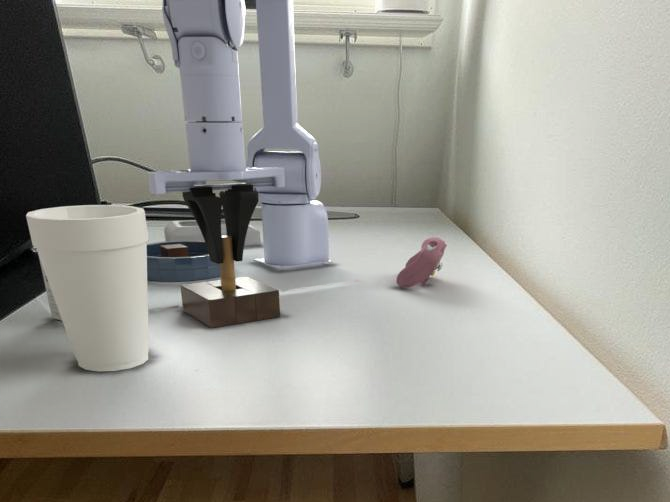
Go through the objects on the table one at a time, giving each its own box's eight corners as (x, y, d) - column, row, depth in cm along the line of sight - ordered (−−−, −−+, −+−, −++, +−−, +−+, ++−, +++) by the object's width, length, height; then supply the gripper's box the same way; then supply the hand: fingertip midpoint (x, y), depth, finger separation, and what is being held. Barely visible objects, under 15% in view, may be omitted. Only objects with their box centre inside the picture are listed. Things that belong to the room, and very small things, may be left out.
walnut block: (182, 264, 98) (180, 243, 96) (190, 268, 96) (187, 246, 94) (162, 267, 96) (159, 245, 95) (170, 270, 94) (167, 248, 93)
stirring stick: (234, 311, 77) (228, 234, 73) (240, 314, 76) (234, 236, 72) (221, 313, 77) (214, 236, 72) (227, 316, 75) (220, 238, 71)
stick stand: (248, 301, 81) (246, 276, 80) (280, 316, 75) (279, 290, 74) (183, 310, 77) (179, 284, 76) (211, 328, 71) (208, 300, 70)
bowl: (209, 261, 103) (206, 237, 101) (247, 277, 93) (245, 251, 91) (121, 271, 96) (117, 246, 94) (152, 289, 86) (148, 262, 84)
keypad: (259, 224, 112) (168, 228, 107) (261, 247, 114) (171, 252, 109) (247, 216, 120) (162, 220, 115) (249, 238, 121) (165, 242, 117)
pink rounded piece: (422, 301, 88) (449, 254, 84) (392, 284, 87) (418, 235, 84) (430, 285, 96) (455, 241, 93) (403, 269, 96) (427, 224, 92)
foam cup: (105, 385, 56) (74, 223, 50) (38, 365, 61) (1, 213, 54) (186, 355, 63) (168, 210, 57) (120, 339, 68) (96, 202, 61)
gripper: (157, 122, 60) (176, 275, 67) (296, 122, 67) (301, 260, 74) (133, 121, 65) (153, 263, 72) (264, 121, 73) (271, 250, 79)
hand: (226, 260), depth 73 cm, fingers closed
